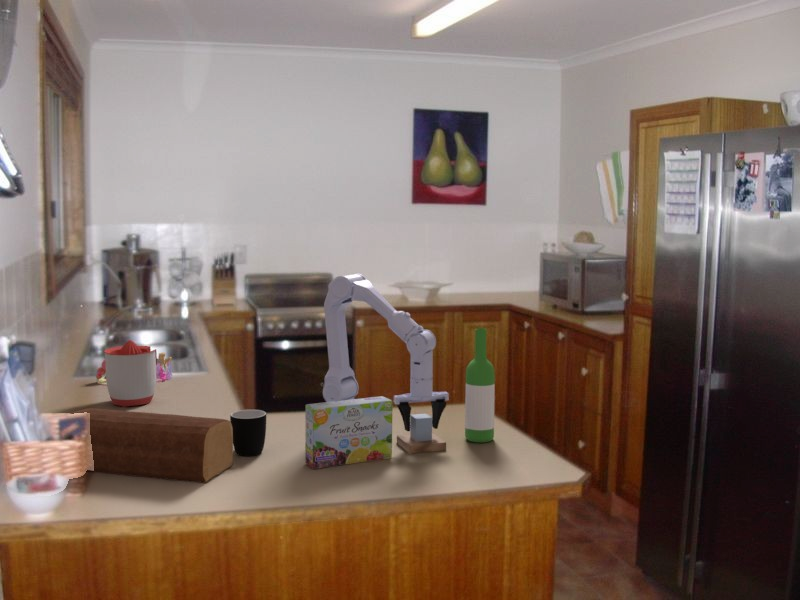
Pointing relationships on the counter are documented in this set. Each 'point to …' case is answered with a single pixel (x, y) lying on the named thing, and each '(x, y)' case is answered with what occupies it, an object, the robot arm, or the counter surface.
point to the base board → (421, 444)
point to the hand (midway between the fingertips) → (421, 429)
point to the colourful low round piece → (160, 370)
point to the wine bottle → (479, 393)
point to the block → (421, 427)
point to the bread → (160, 444)
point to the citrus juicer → (131, 374)
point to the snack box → (348, 431)
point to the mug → (248, 431)
